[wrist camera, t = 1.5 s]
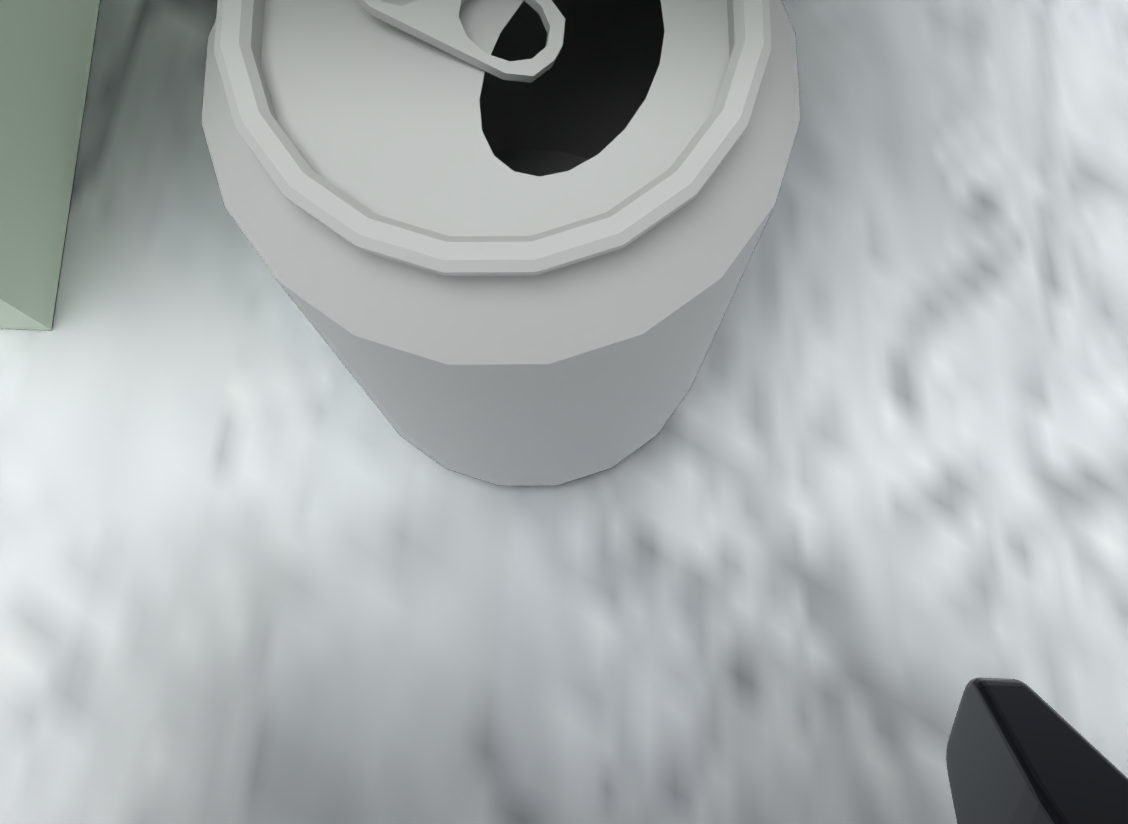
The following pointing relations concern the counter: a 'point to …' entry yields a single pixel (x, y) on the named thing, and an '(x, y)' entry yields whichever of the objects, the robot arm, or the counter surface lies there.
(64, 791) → the counter surface
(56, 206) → the shelf
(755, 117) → the can
